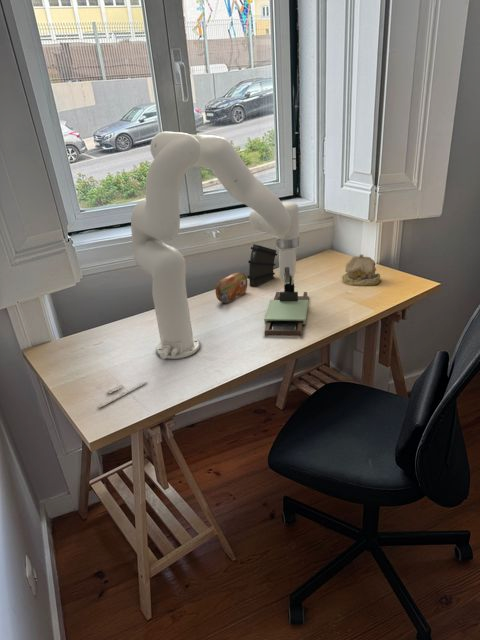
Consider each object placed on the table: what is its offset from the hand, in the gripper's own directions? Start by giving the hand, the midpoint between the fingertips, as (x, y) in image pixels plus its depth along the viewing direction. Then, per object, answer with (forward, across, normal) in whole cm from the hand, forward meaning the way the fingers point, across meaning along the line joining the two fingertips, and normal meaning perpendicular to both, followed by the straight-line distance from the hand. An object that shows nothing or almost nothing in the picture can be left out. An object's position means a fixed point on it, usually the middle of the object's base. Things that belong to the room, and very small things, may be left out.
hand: (289, 294), depth 169 cm
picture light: (+4, +55, -40) cm, 68 cm away
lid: (+3, +9, 0) cm, 10 cm away
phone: (+4, +15, 0) cm, 15 cm away
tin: (+4, -7, -22) cm, 23 cm away
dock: (+4, +8, 0) cm, 9 cm away
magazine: (+4, -24, -12) cm, 28 cm away
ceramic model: (+4, -24, +25) cm, 35 cm away
